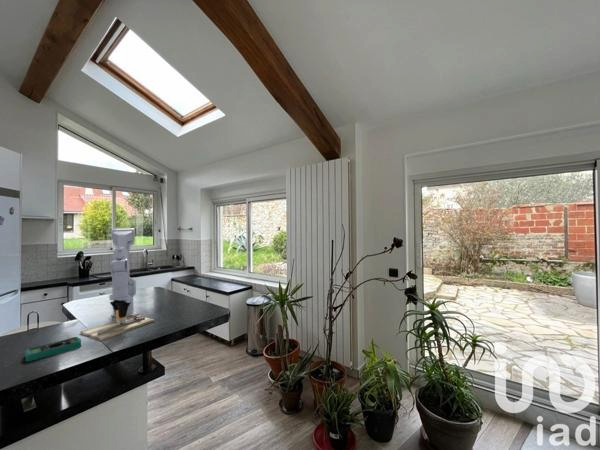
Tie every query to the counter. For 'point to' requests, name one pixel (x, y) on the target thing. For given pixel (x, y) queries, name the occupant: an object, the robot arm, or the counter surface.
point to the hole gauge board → (116, 327)
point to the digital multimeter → (52, 348)
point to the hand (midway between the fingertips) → (121, 316)
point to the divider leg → (120, 320)
